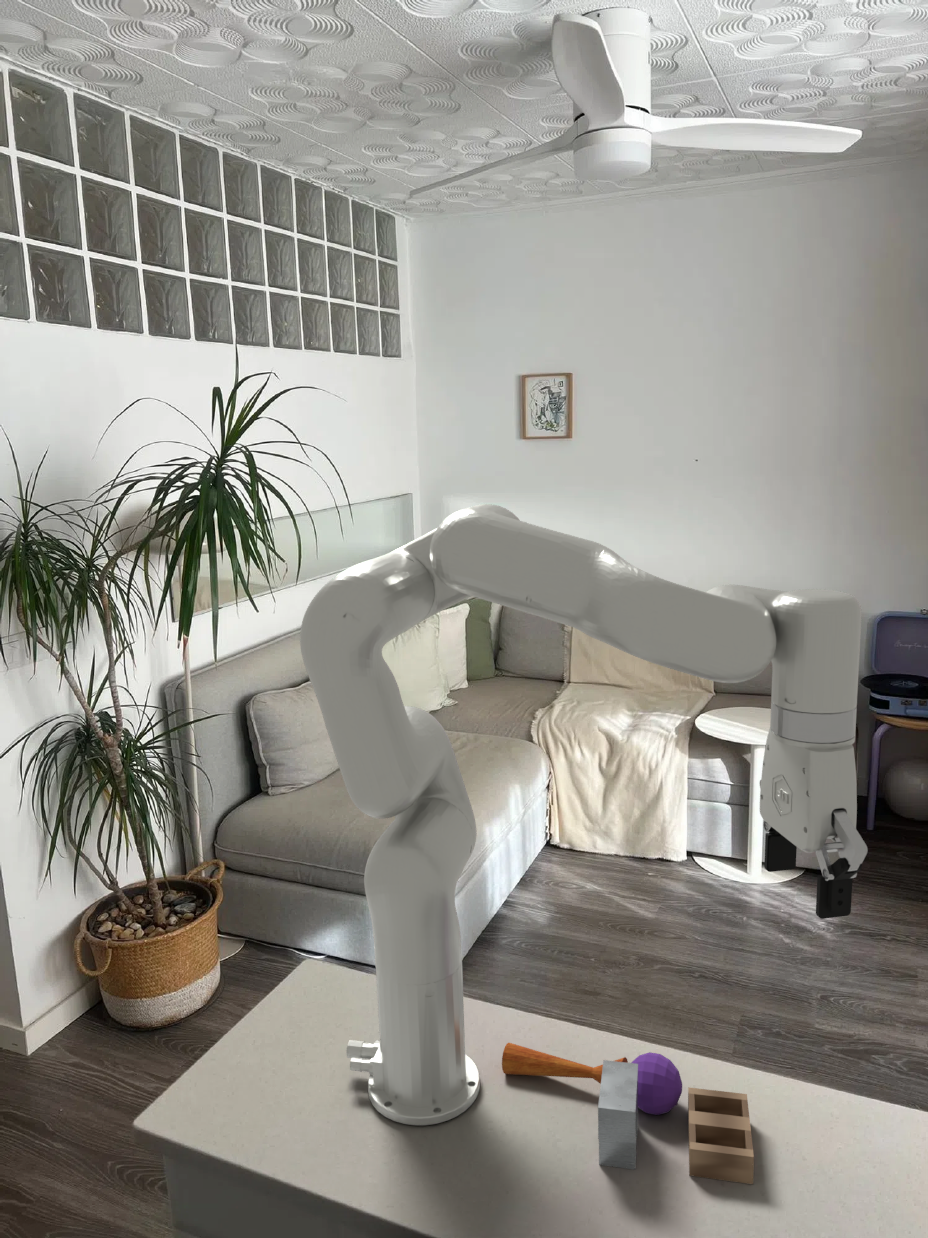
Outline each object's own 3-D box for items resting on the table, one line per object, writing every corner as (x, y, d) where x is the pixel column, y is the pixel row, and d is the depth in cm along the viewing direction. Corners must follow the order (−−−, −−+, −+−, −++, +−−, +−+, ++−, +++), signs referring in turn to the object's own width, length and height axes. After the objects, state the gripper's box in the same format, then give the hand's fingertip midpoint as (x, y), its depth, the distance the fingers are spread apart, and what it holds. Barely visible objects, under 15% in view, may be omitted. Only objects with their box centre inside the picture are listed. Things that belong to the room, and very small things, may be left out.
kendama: (515, 1022, 111) (685, 1048, 102) (517, 1073, 110) (687, 1103, 102) (496, 1042, 105) (674, 1072, 97) (498, 1096, 105) (676, 1130, 97)
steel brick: (598, 1170, 93) (598, 1107, 91) (603, 1119, 100) (603, 1060, 98) (635, 1175, 92) (635, 1112, 91) (637, 1123, 99) (638, 1064, 98)
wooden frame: (689, 1175, 92) (689, 1149, 91) (687, 1112, 100) (688, 1087, 100) (753, 1184, 90) (753, 1157, 90) (746, 1119, 99) (746, 1094, 98)
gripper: (733, 700, 95) (729, 857, 98) (826, 754, 78) (817, 941, 82) (801, 695, 96) (795, 850, 100) (907, 747, 80) (895, 932, 83)
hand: (805, 891), depth 91 cm, fingers open, 9 cm apart
